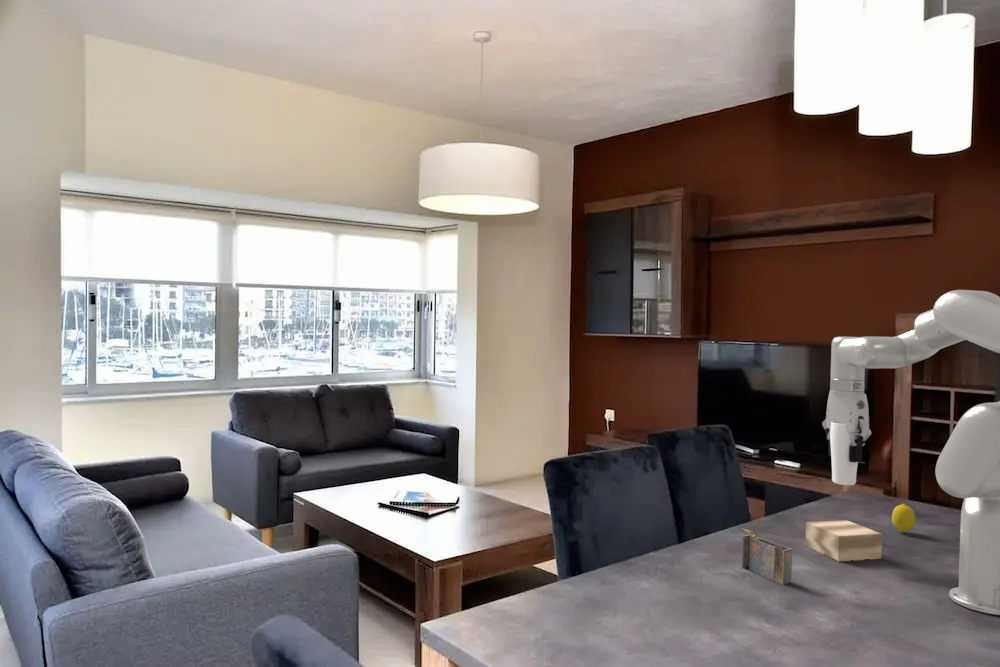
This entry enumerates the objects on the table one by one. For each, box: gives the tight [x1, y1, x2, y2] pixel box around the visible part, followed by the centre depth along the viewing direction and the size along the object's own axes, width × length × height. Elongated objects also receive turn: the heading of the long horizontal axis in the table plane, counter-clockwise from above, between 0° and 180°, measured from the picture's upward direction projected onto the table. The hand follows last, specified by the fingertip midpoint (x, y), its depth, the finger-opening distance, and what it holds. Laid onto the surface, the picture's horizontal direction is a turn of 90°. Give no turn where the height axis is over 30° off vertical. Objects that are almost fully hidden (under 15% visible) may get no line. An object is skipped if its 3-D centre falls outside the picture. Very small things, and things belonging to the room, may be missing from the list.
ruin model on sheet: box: [741, 527, 793, 585], centre depth 156 cm, size 11×3×10 cm, turn 29°
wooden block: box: [804, 519, 883, 562], centre depth 173 cm, size 12×12×6 cm
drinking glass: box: [830, 422, 859, 486], centre depth 173 cm, size 7×7×15 cm
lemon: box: [891, 503, 916, 534], centre depth 191 cm, size 6×6×8 cm
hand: (844, 458), depth 173 cm, fingers closed on drinking glass, 6 cm apart
